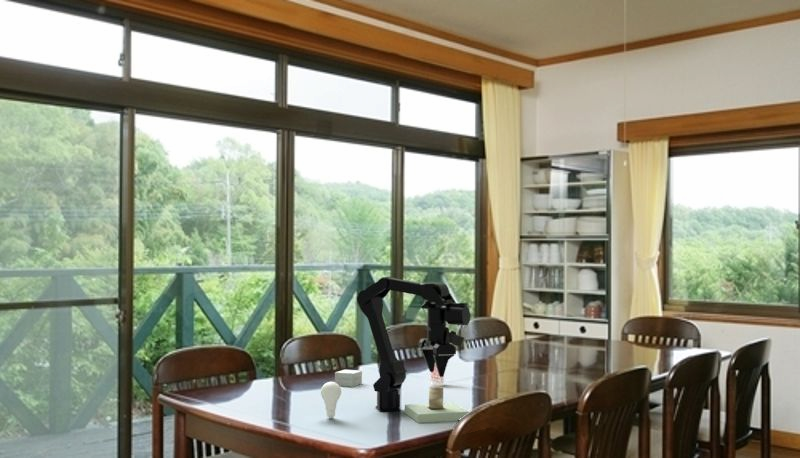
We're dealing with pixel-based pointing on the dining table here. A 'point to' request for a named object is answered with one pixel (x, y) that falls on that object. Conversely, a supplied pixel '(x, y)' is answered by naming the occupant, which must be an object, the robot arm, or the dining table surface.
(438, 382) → the beverage cup
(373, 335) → the robot arm
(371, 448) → the dining table surface
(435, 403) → the peg
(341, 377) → the small box
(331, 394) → the lightbulb
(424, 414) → the board
